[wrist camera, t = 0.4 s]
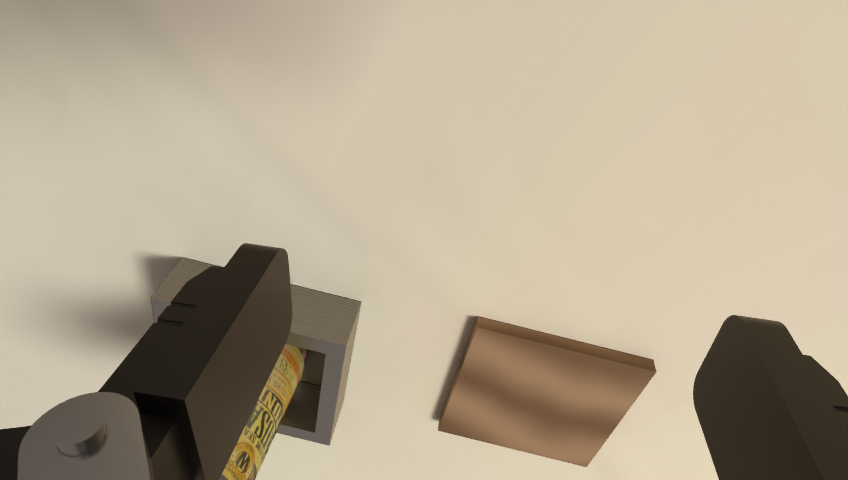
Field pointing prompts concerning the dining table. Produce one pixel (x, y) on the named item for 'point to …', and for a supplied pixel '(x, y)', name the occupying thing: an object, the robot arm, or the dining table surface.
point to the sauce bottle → (266, 415)
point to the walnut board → (541, 392)
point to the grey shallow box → (310, 329)
